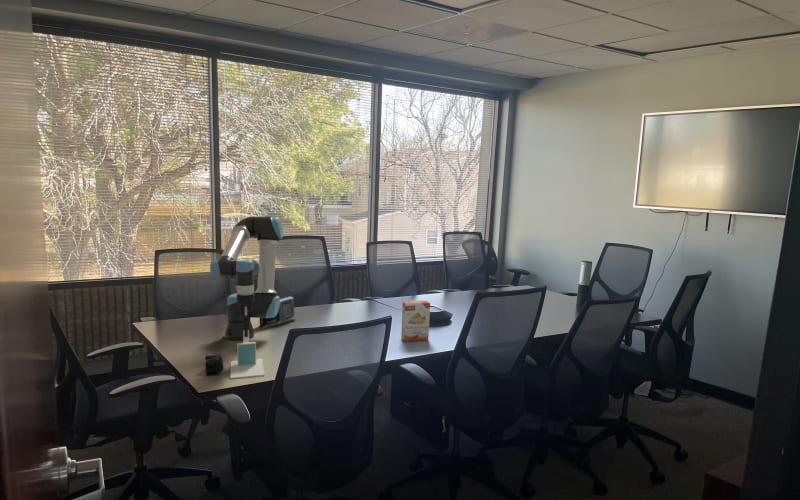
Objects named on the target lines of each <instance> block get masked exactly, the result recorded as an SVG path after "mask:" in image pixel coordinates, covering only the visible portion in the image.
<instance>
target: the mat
mask: <svg viewBox="0 0 800 500" xmlns="http://www.w3.org/2000/svg"><path fill="white" fill-rule="evenodd" d="M263 362H264V361H263V358H262V357H261V358H256V364H253V365H242V366H238V359H237V360H230V377H229V378H230V380H233V379H234V380H235V379H247V378H257V377H265V368H264V363H263Z"/></svg>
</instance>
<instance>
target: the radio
mask: <svg viewBox="0 0 800 500" xmlns="http://www.w3.org/2000/svg"><path fill="white" fill-rule="evenodd" d="M295 321H296V318H295V302H294V297H293V296H291V295H287V296H284V297H281V298H280V305H279V310H278V313H277V315H276V316H275V317H274V318H259V326H258V327H259V328H261V329H266V328H271V327H273V326H279V325H282V324H286V323H289V322H295Z"/></svg>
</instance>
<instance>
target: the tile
mask: <svg viewBox="0 0 800 500" xmlns="http://www.w3.org/2000/svg"><path fill="white" fill-rule="evenodd" d="M236 347H237V348H236V349H237V351H236V352H237V360H238V366H242V365H253V364H256V359H257V342H256V341H249V342H247V343H243V342H238V343H236Z"/></svg>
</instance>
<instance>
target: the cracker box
mask: <svg viewBox="0 0 800 500" xmlns="http://www.w3.org/2000/svg"><path fill="white" fill-rule="evenodd" d="M401 312H402V313H401V335H400V336H401V337H400V338H401V340H402V341H403V342H416V341H418V342H419V341H421V342H422V341H429V337H430V335H429V334H430V316H431V315H430V313H431V303H430V302H429V301H428V300H408V301H407V300H405V301H404V300H403V301H402V309H401Z"/></svg>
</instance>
